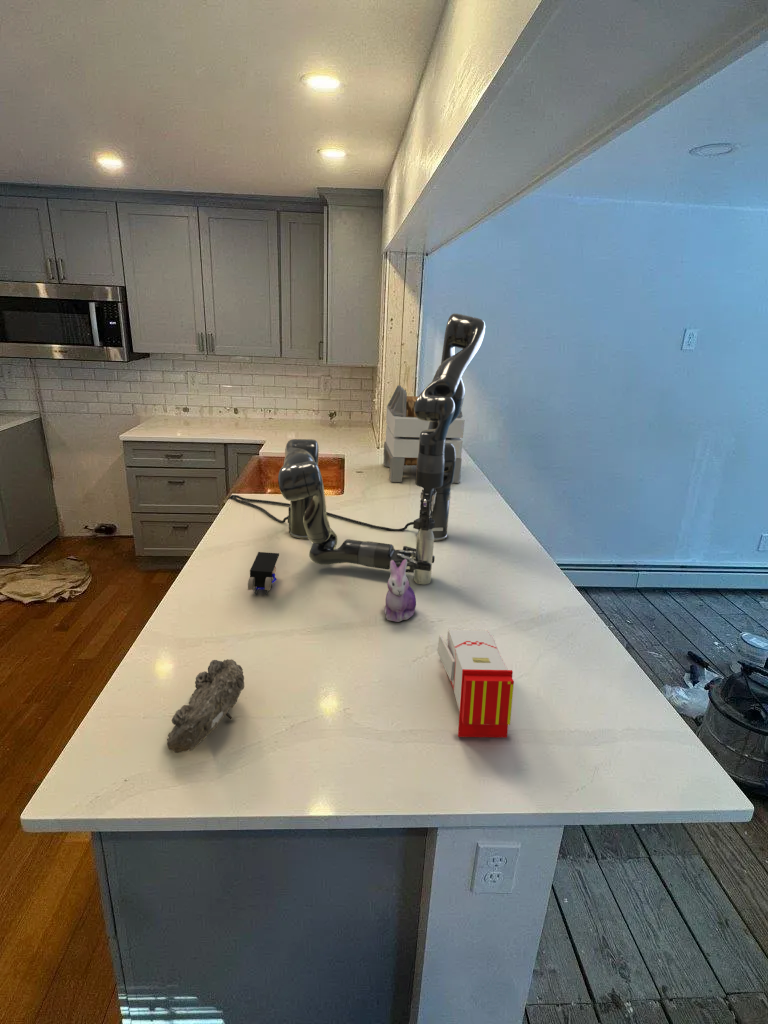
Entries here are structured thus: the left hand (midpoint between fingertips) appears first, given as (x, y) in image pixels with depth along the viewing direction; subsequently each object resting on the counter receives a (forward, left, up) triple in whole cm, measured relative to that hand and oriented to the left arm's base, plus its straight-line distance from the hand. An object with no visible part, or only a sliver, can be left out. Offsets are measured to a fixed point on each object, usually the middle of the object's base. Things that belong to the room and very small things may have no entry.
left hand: (432, 563), depth 164 cm
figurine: (+5, -21, -6) cm, 22 cm away
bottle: (-2, -1, -6) cm, 7 cm away
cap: (-2, -1, +13) cm, 13 cm away
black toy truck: (-32, -35, -6) cm, 48 cm away
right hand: (-2, -1, +11) cm, 11 cm away
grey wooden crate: (-71, +91, -6) cm, 116 cm away
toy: (+35, -36, -6) cm, 51 cm away
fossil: (+3, -76, -6) cm, 77 cm away
